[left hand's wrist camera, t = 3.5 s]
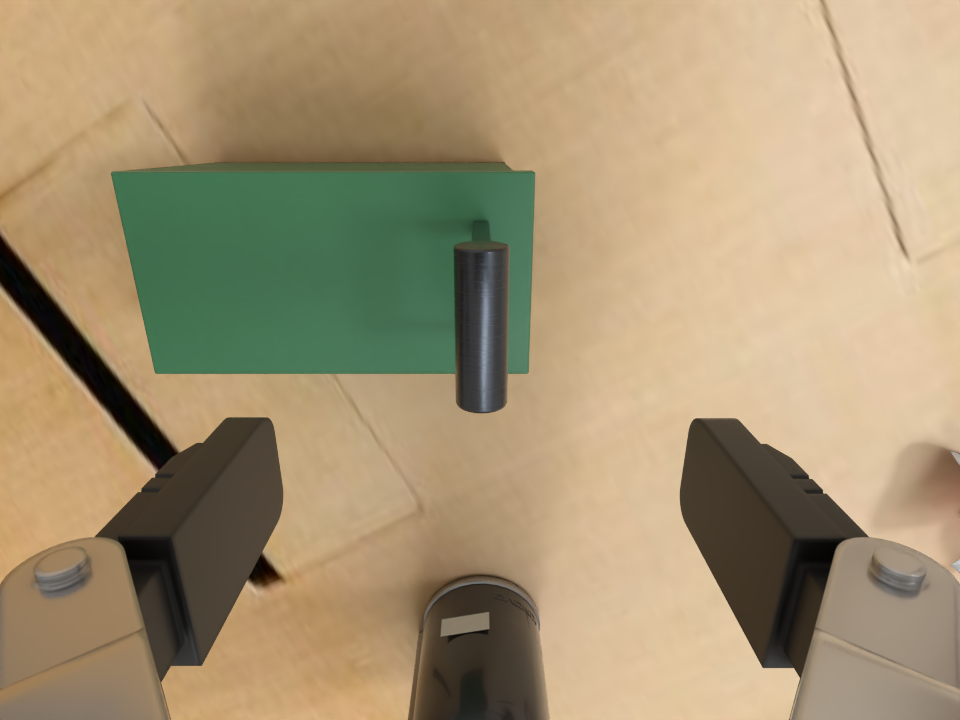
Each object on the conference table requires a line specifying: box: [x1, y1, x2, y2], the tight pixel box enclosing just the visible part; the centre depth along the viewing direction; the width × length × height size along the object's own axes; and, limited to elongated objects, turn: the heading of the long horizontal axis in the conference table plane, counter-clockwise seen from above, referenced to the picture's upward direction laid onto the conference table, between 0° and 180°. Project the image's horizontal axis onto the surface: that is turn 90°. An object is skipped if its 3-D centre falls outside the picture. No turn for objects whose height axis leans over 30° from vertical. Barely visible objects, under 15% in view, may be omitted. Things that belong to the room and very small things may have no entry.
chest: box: [127, 162, 513, 171], centre depth 31 cm, size 17×9×10 cm, turn 90°
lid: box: [111, 171, 535, 413], centre depth 22 cm, size 18×9×9 cm, turn 90°
